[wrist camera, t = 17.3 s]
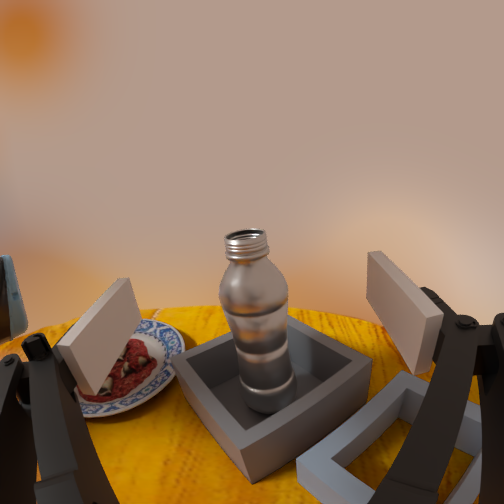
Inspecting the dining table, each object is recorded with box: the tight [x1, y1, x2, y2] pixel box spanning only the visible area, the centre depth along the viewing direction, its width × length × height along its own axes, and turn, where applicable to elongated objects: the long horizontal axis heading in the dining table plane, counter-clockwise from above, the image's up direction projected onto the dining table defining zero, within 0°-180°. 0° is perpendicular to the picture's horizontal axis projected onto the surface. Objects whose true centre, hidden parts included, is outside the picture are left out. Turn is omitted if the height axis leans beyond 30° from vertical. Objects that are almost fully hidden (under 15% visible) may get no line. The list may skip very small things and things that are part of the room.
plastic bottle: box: [219, 228, 298, 414], centre depth 28 cm, size 6×7×20 cm
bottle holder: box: [296, 370, 482, 504], centre depth 18 cm, size 15×15×5 cm
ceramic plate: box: [74, 319, 185, 418], centre depth 41 cm, size 26×26×3 cm
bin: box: [170, 315, 373, 484], centre depth 31 cm, size 16×16×7 cm
